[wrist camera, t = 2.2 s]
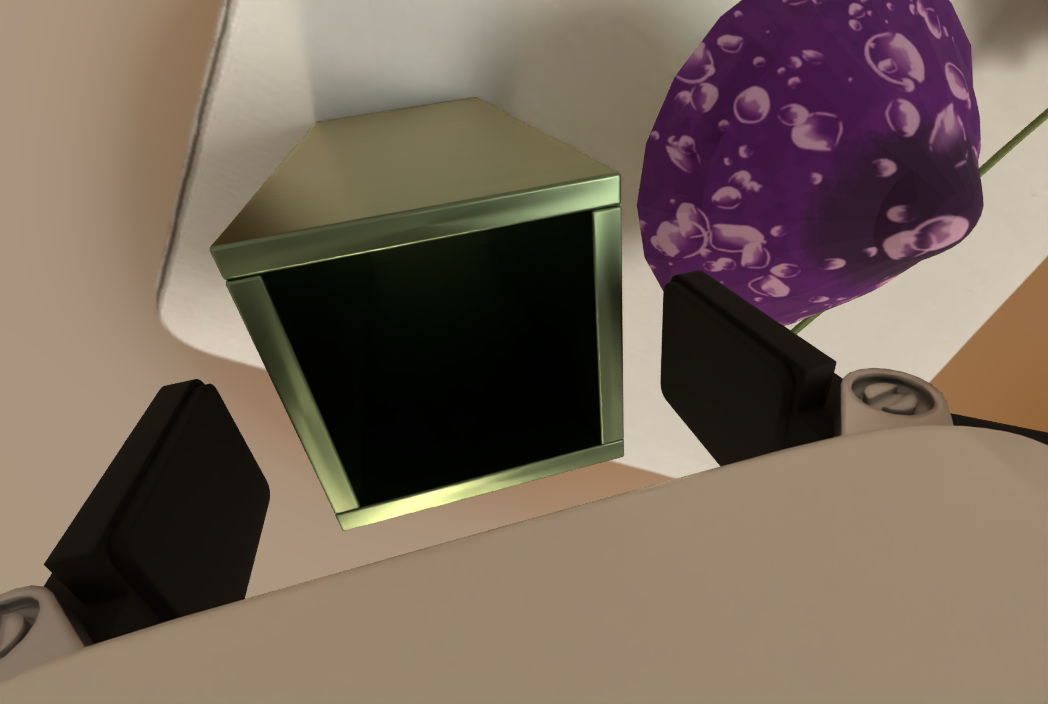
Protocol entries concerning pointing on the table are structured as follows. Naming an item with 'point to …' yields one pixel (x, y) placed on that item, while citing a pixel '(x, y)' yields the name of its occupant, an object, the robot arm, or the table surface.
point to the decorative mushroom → (814, 151)
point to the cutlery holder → (435, 304)
